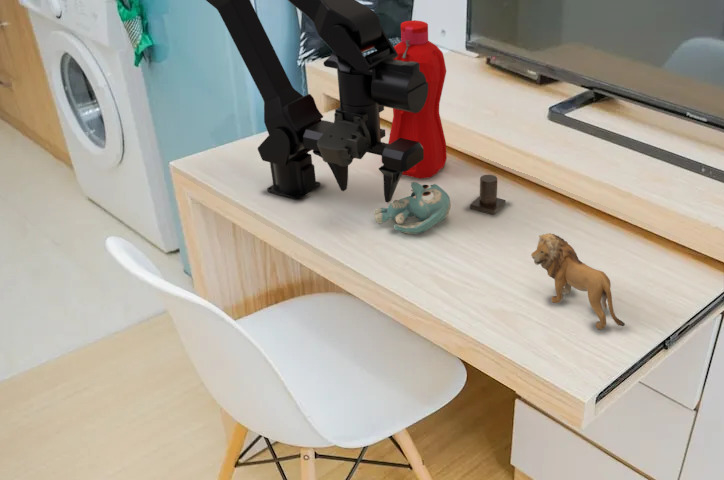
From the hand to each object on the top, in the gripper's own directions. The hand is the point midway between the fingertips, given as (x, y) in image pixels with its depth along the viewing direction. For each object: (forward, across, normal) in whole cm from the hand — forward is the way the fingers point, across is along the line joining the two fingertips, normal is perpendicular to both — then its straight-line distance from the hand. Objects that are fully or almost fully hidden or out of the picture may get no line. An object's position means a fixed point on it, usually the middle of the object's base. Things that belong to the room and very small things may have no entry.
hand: (365, 195), depth 126 cm
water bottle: (+2, -1, +16) cm, 17 cm away
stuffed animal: (+3, +9, 0) cm, 9 cm away
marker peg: (+2, +17, +10) cm, 20 cm away
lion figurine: (+3, +40, -10) cm, 41 cm away
